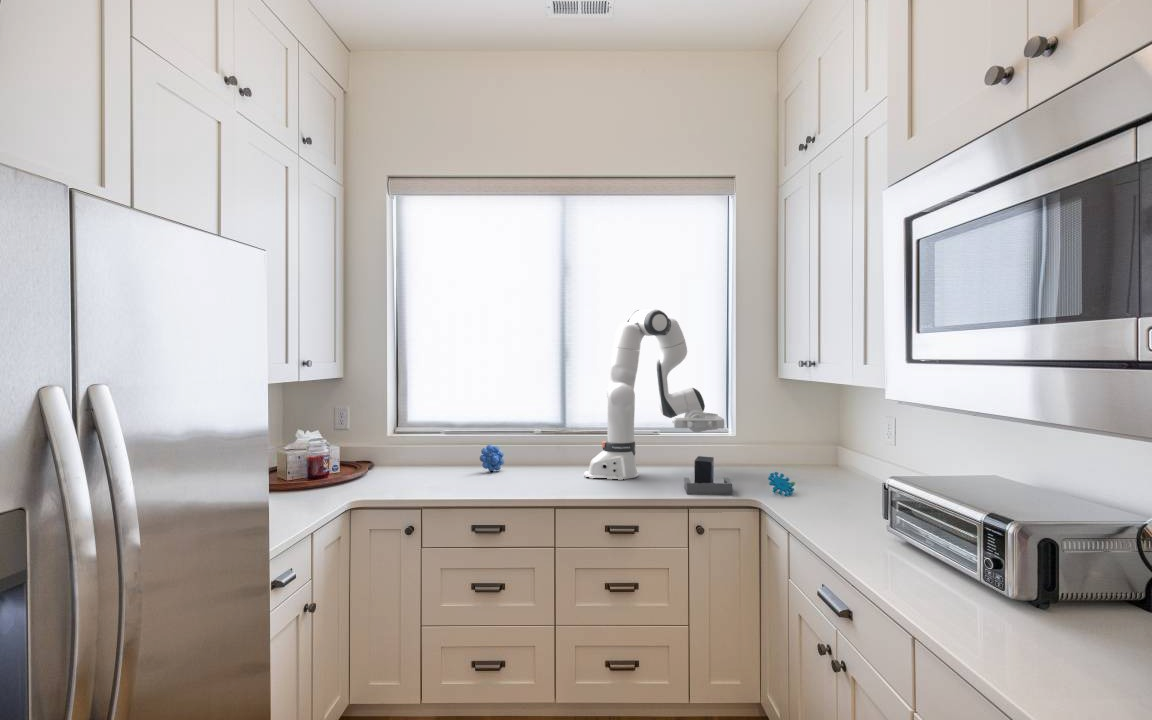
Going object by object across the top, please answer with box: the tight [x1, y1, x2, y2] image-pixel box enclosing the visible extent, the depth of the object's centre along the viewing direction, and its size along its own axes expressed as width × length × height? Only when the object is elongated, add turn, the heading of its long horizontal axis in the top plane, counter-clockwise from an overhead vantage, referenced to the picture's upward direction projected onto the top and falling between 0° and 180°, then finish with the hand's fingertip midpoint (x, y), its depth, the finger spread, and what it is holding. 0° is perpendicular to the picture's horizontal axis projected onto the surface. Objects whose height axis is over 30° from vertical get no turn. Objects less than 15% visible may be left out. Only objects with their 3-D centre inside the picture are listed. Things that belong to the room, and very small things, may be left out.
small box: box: [693, 455, 715, 483], centre depth 227 cm, size 11×6×10 cm, turn 161°
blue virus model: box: [767, 471, 796, 497], centre depth 214 cm, size 11×6×10 cm
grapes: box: [479, 444, 505, 472], centre depth 256 cm, size 12×7×12 cm, turn 126°
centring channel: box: [683, 477, 733, 496], centre depth 217 cm, size 16×10×4 cm, turn 85°
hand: (700, 425), depth 237 cm, fingers open, 5 cm apart
